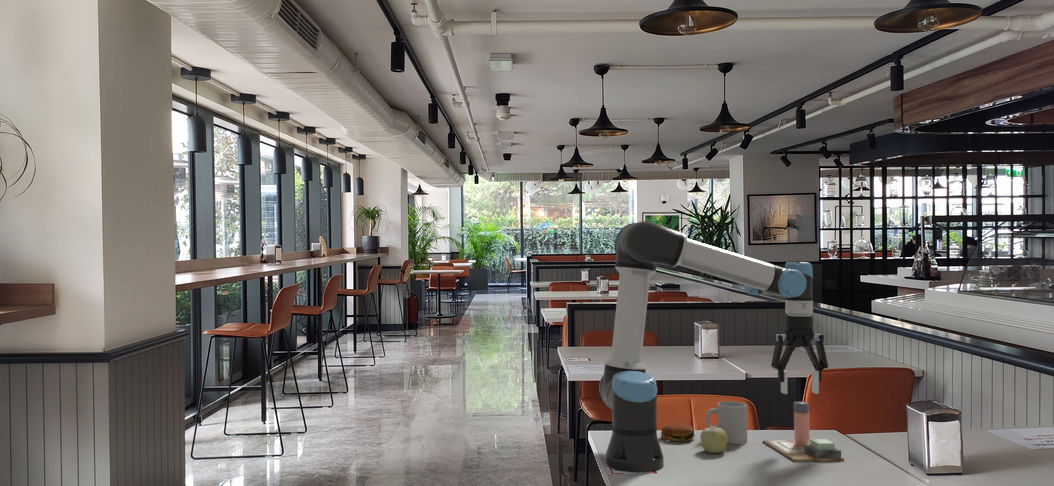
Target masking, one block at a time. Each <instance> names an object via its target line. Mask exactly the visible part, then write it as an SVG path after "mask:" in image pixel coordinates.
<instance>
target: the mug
mask: <svg viewBox="0 0 1054 486" xmlns="http://www.w3.org/2000/svg"><path fill="white" fill-rule="evenodd" d="M716 407H717V408H716ZM716 407H713V408H710V409H708V410H707V411H706V415H705V425H706V428H709V427H713V425H711V424H710V417H711V415H714V414H715V415H716V416H717V425H714V427H717V428H721V429H723V430H724V431H725V432H726V434H727V439H728V441H727V443H730V444H729V445H740V444H739V443H745V442H747V443H748V406H747V404H746V403H744V402H739V401H729V400H727V401H719V402H718V403H717V406H716ZM745 444H746V443H745Z"/></svg>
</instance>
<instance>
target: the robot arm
mask: <svg viewBox="0 0 1054 486" xmlns="http://www.w3.org/2000/svg"><path fill="white" fill-rule="evenodd" d="M613 246H614V247H613V248H614V251H615V254H616V255H615V265H614V268H615V269H616V271H617V272H618V274H619V278H618V287H617V297H616V307H615V314H614V315H615V316H614V327H613V336H612V345H611V353H610V354H611V355H610V357H609V358H608V359H607V360H605V362H604V369H603V375H602V376H601V378H600V381H599V383H598V384H599V386H598V387H599V388H598V389H599V390H598V391H599V395H600V398H601V399H602V401H603V403H604V405H606V407H607V408H608V409H610V410H611V411H612V412H611V413H612V414H611V416H612V417H611V418H612V420H611V421H612V425H611V426H612V427H611V429H612V432H611V437H610V439H609V443H608V446H607V449H606V453H605V464H606V466H608V467H610V468H613V469H616V470H621V471H626V472H651V471H656V470H659V469H661V468H663V467H664V463H665V462H664V454H663V450H662V448H661V444H660V442H659V438H658V433H657V432H658V431H657V429H658V428H657V426H658V425H657V423H658V421H657V417H658V416H657V414H658V411H657V410H658V408H657V407H658V406H657V405H658V400H657V397H658V387H657V380H656V378H655V377H654V376H653V375H652V374H649V373H647V372H646V369H647V367H646V366H645V364H644V363H643V362H642V357H643V348H644V347H643V346H644V337H645V329H646V327H645V326H646V318H647V317H646V316H647V307H648V299H649V291H650V290H649V289H650V280H651V279H650V278H651V276H653V275H654V274H656V272H657V265H664V266H668V267H670V268H676V267H677V266H681V267H684V268H687V269H691V270H694V271H697V272H700V273H703V274H706V275H711V276H714V277H717V278H720V279H724V280H727V281H731V282H734V283H738V284H739V285H740V284H741V285H743V288H744V289H745V293H747V294H748V295H754V296H759V295H760V296H775V297H784V300H785V302H784V303H785V304H784V306H785V307H784V308H785V309H784V311H785V314H786V315H785V317H784V318H785V320H784V321H785V331H784V333H782V334H778V333H776V334H775V335H774V340H775V343H774V347H773V348H774V350H773V353H772V359H771V364H770V366H771V368H773V369H775V370H777V380H778V382H780V393H782V394H784V395H788V371H787V370H786V369H787V368H786V367H787V365H788V364H789V361H790V359H791V357H792V354H793V352H794V351H795V350H796V348H804V350H805V353H807V356H808V357H809V360H810V361H811V364H812V366H813V368H814V369H811V393H814V394H817V395H819V394H820V387H819V386H820V384H819V383H820V382H822V372H823V371H824V369H828V368H829V363H828V359H827V356H826V354H827V353H826V350H825V345H824V340H825V336H824V335H823V334H820V333H815V332H814V317H813V316H812V315H813V313H814V301H813V298H814V293H813V289H814V286H813V285H814V284H813V283H814V282H813V281H814V275H813V273H814V272H813V265H812V264H811V263H810V262H807V261H805V262H803V261H800V262H798V261H797V262H796V261H793V262H792V261H787V262H786V263H785V264H784V267H781V266H779V265H775V264H773V263H769V262H767V261H763V260H759V259H756V258H753V257H749V256H745V255H742V254H739V253H735V252H732V251H729V250H726V249H723V248H720V247H717V246H713V245H709V244H707V243H702V242H700V241H697V240H694V239H690V238H688V237H686V234H685V233H684V232H680V231H677V230H674V229H671V228H669V227H666V226H664V225H661V224H660V223H656V222H654V221H649V220H643V221H638V222H632V223H629V224H627V225H624V226H623V227H622V228H621V229H620V230H619V231H618V232H617V233H616V236H615V238H614V243H613ZM785 340H786V341H787V343H786V344H785V349H784V351H783V347H784V342H785ZM813 340H814V341H815V343H814V344H815V347H816V352H817V355H816V352H815V350H814V347H813V343H812V341H813ZM782 353H783V354H782Z"/></svg>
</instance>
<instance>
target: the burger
mask: <svg viewBox="0 0 1054 486" xmlns="http://www.w3.org/2000/svg"><path fill="white" fill-rule="evenodd" d="M660 437H661V439H662V440H664V439H665V440H664V441H666V440H669V441H686V442H689V440H690V441H692V440H693V439H694V437H696V435H695V430H694V428H693V426H692V425H691V424H689V423H682V422H670V423H669V422H668V423H666V424H664V425H663V426H662V427H661V433H660ZM669 441H668V442H669Z"/></svg>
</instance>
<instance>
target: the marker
mask: <svg viewBox="0 0 1054 486" xmlns="http://www.w3.org/2000/svg"><path fill="white" fill-rule="evenodd" d="M793 423H794V424H793V425H794V427H793V428H794V430H793V431H794V440H795V445H796V446H800V447H804V444H810V439H811V438H810V404H809V402H807V401H806V402H805V401H793Z"/></svg>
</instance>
